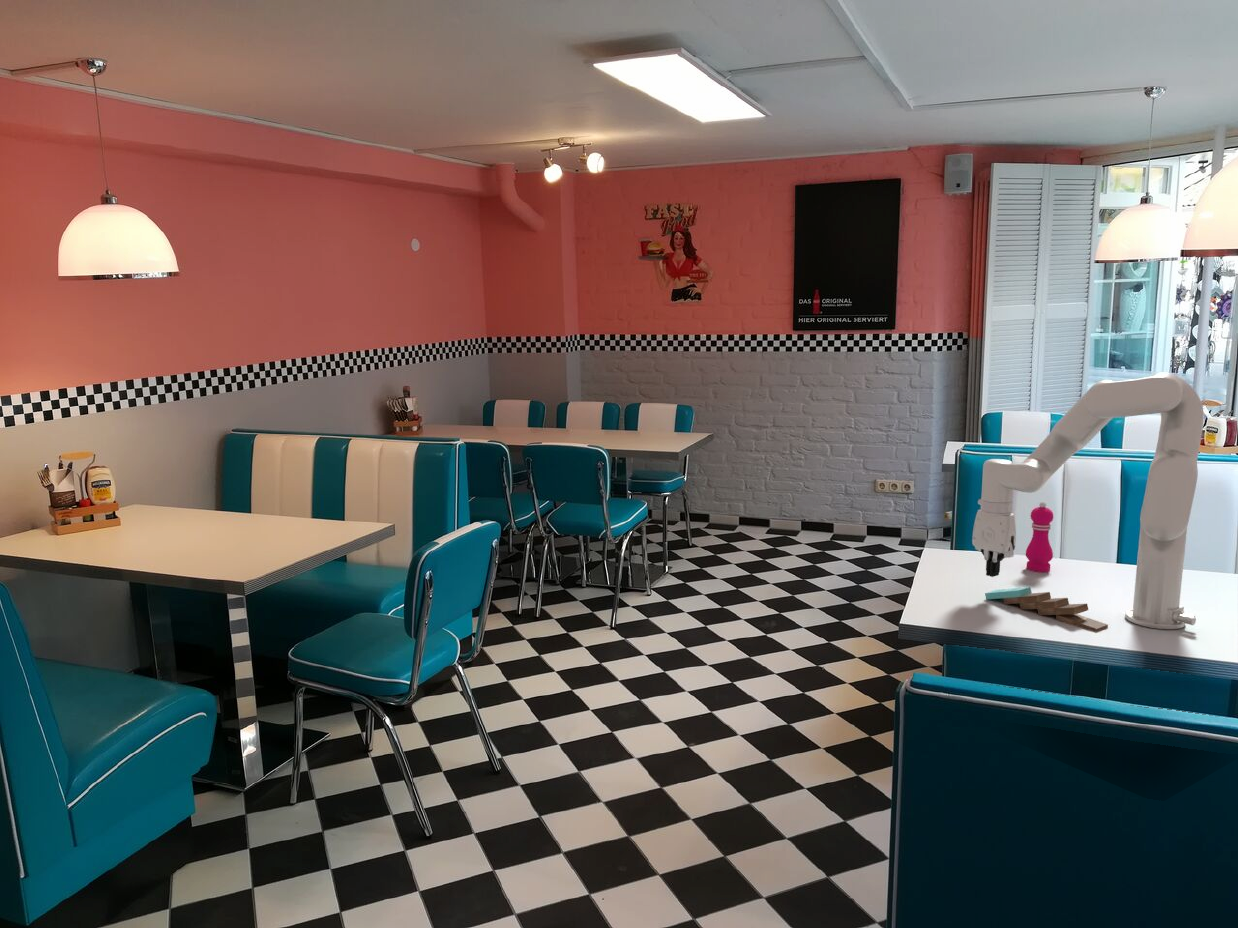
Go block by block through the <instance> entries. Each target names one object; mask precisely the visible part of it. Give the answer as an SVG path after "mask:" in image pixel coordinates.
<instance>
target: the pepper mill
mask: <svg viewBox="0 0 1238 928" xmlns="http://www.w3.org/2000/svg"><path fill="white" fill-rule="evenodd" d="M1038 504H1039V506H1038V507H1037V506H1036V507H1034V508H1033V509H1032V510H1031V512H1030V519H1031V521H1032V523H1031V528H1032V537H1031V540H1030V542H1029V544H1028V545H1027V547H1026V550H1025V557H1026V559H1027V562H1026V569H1027V570H1028V571H1030V572H1031V571H1032V572H1039V573H1047V572H1050V571H1051V563H1050V562H1051V561H1052V560H1053V557H1054V552H1053V549H1052V546H1051V543H1050V540H1049V533H1050V530H1051V529H1052V528H1051V526H1052V524H1051V523H1052V521H1054V512H1053V511H1052V510H1051V509H1050V508H1049V507H1046V506H1047V503H1046V502H1045V501H1040V502H1039V503H1038Z"/></svg>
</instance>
